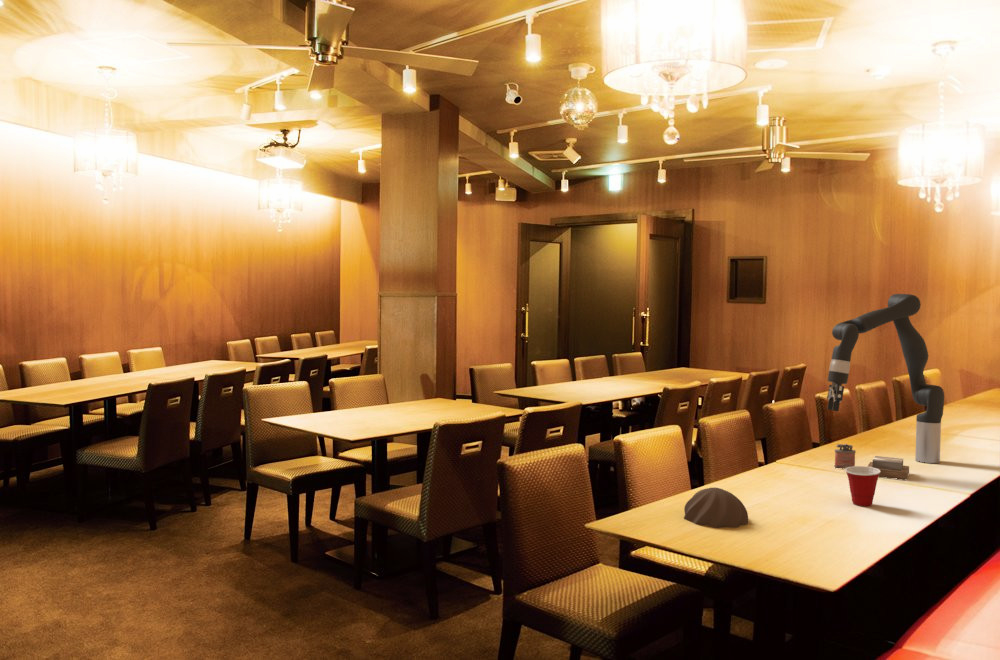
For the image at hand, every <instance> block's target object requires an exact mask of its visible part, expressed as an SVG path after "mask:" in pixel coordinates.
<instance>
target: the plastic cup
mask: <svg viewBox="0 0 1000 660" xmlns="http://www.w3.org/2000/svg"><path fill="white" fill-rule="evenodd" d="M844 471H845V472H846V475H847V479H848V486H849V490H850V496H851V502H852V504H853V505H855V506H859V507H872V506H873V505H872V504H873V501H874V496H875V492H876V488H877V485H878V484H877V483H878V480H879V477H878V476H879V473H880V472H881V471H880V470H879V469H877V468H873V467H867V466H863V465H861V466H859V465H855V466H853V467H848V468H845V469H844Z"/></svg>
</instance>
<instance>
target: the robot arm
mask: <svg viewBox="0 0 1000 660" xmlns="http://www.w3.org/2000/svg"><path fill="white" fill-rule="evenodd" d="M921 303H922V302H921V301H920V298H919V297H918V296H917V295H914V294H909V293H894V294H891V295H890V297H889V298H888V301H887V307H884V308H880V309H875V310H872V311H869V312H866V313H863V314H861V315H859V316H857V317H856V318H852V319H849V320H845V321H842V322H841V321H840V322H839V323H837V324H836V325H835V326H833V328H832V332H831V335H832V336H833V338H834V339H835V340H838V341H840V344H838V345H836V346H834V347H833V349H832V354H831V360H830V363H829V368H828V374H827V382H830V383H831V384H829V385H828V391H827V396H826V399H827V400H828V401H827V408H826V409H827V410H829V411H834V412H839V409H840V404H841V402H842V401H843V396H844V391H845V386H844V385H847V384H848V382H849V381H848V380H849V375H850V368H851V358H852V353H853V350H854V348H855V346H856V344H857V342H858V339H859V336H860V334H865V333H868V332H870V331H872V330H874V329H876V328H878V327H880V326H882V325H886V324H888V323H891V322H893V324H894V328H895V329H896V333H897V336H898V339H899V342H900V346H901V347H900V348H901V351H902V354H903V355H902V356H903V357H904V361H905V364H906V368H907V369H906V370H907V373H908V377H909V384H910V389H911V394H912V395H911V396H912V398H913V401H914V402H915V403H916V404H918V405H920V406H926V410H925V411H924V412H921V413H918V414H916V417H915V419H916V421H915V422H916V425H915V458H914V459H915V461H917V462H919V461H920V463H924V462H925V464H940V462H941V442H942V441H941V440H942V439H941V436H942V435H941V434H942V433H941V432H942V419H943V415H944V407H945V406H944V405H945V391H944V389H943V388H942V386H940V385H937V384H936V385H935V384H927V383H926V380H925V376H924V370H925V368H926V366H927V363H928V359H929V352H928V348H927V347H928V346H927V345H926V342H925V339H924V337H923V336H922V335H921V334H920V332H918V330H917V329H916V328H915V326H914V325H913V323H912V322H911V319H910V317H911V316H915V315H916V314H917V313H918V312H919V311H920V309H921Z"/></svg>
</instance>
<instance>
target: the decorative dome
mask: <svg viewBox="0 0 1000 660" xmlns="http://www.w3.org/2000/svg"><path fill="white" fill-rule="evenodd" d="M683 508H684V509H683V510H684V514H685V515H684V517H683V519H684V520H686V521H690V522H692V524H693V525H696V526H697V525H698V526H706V527H710V528H714V529H720V528H729V529H737V528H739V527H740V526H748V525H749V513H748V511H747V509H746V508H747V507H746V506H745V505H744V503H743V502H742V501H741V500H740V499H739V498H738V497H737V496H736V495H734V494H733V493H732V492H730V491H728V490H725V489H723V488H719V487H709V488H708V487H707V488H703V489H700V490H699V491H697V492H695V494H693V495H692V497H691V498H690V499H688V501H687V502H686V503H685V505H684V507H683Z"/></svg>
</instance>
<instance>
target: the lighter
mask: <svg viewBox="0 0 1000 660" xmlns="http://www.w3.org/2000/svg"><path fill="white" fill-rule="evenodd" d="M836 448H839V449H834V466H833V468H834V467H835V468H834V469H836V468H848V467H853V466H856V450H854V449H853V448H854V447H853V445H852V444H847V443H844V444H843V443H837V444H836Z"/></svg>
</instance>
